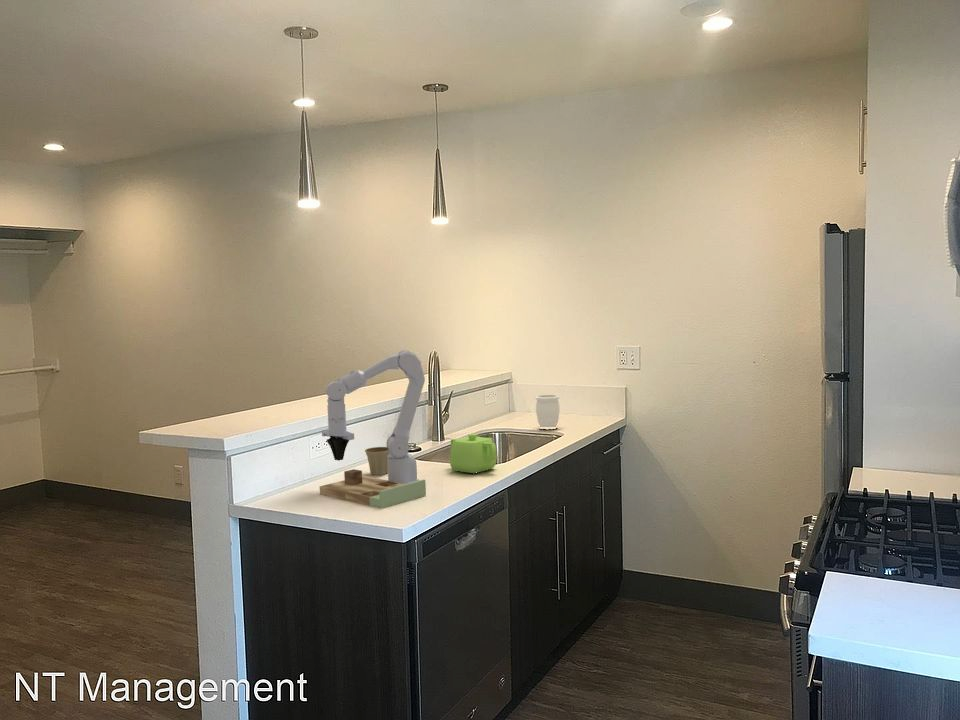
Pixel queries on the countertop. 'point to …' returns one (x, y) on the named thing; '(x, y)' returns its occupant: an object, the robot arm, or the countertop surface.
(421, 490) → the box
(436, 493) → the countertop surface
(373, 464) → the flower pot
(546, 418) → the jar
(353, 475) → the walnut block
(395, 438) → the robot arm
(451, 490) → the countertop surface
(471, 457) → the teapot
